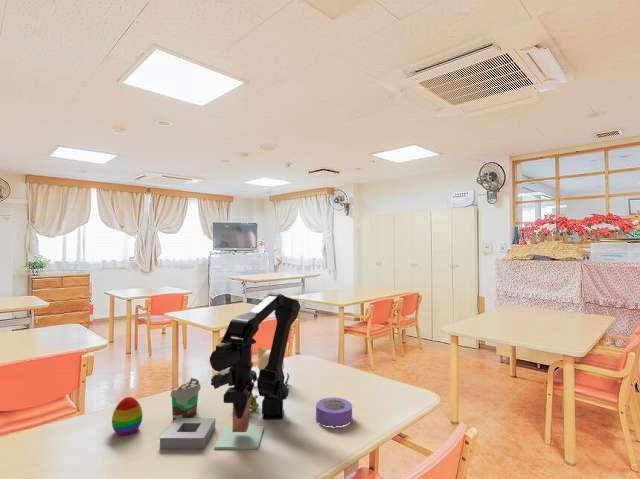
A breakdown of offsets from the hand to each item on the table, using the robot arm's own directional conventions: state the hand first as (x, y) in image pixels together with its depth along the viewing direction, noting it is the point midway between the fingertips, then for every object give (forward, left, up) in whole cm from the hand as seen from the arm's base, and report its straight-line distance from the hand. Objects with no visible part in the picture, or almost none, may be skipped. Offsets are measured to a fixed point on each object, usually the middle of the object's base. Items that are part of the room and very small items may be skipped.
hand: (240, 414), depth 108 cm
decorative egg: (+35, -4, -7) cm, 36 cm away
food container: (+20, -15, -7) cm, 26 cm away
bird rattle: (+2, -19, -7) cm, 20 cm away
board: (0, 0, -7) cm, 7 cm away
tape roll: (-28, -12, -7) cm, 31 cm away
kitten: (-4, -44, -7) cm, 45 cm away
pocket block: (+15, 0, -7) cm, 16 cm away
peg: (0, 0, -4) cm, 4 cm away
